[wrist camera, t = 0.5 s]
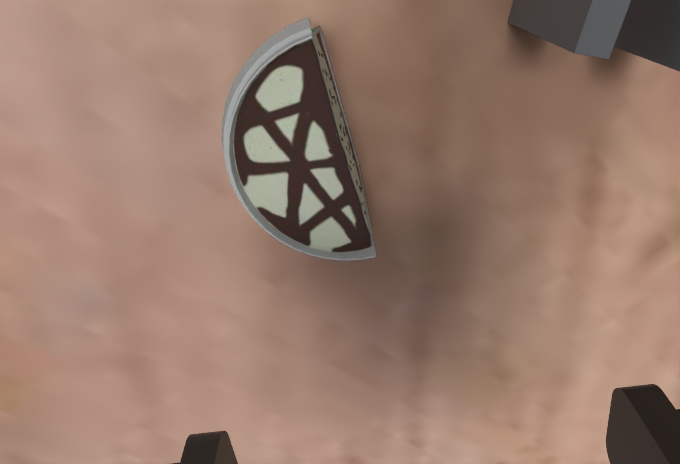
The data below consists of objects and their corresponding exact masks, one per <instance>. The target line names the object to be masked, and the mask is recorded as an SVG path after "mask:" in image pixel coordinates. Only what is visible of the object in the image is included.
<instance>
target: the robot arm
mask: <svg viewBox="0 0 680 464" xmlns="http://www.w3.org/2000/svg"><path fill="white" fill-rule="evenodd" d="M606 448H607V453H608V457H609V461H610V464H680V409H677V410H676V409H675V408H674V406H673V405H672V403H671V402H670V401H669V399H668V398H667V397H666V395H665V394H664V392H663V391H662V390H661V389H660V388H659V387H658V386H657V385H655V384H649V385H640V386H631V387H622V388H616V389H614V391H613V394H612V400H611V407H610V414H609V421H608V428H607V435H606ZM173 464H238V463H237V460H236V457H235V454H234V451H233V448H232V445H231V441H230V438H229V436H228V433H227V432H226V431H218V432H209V433H200V434H191V435H189V437H188V438H187V440H186V443H185V447H184V451H183V454H182V458H181V462H180V463H173Z"/></svg>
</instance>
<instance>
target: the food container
mask: <svg viewBox="0 0 680 464" xmlns="http://www.w3.org/2000/svg"><path fill="white" fill-rule="evenodd" d="M222 145H223V151H224V158H225V165H226V169H227V172H228V175H229V179H230V182H231V185H232V187H233V189H234V191H235V193H236V195H237V197H238V199H239V201H240V202H241V203H242V205H243V206H244V208H245V209H246V210H247V212H248V213H249V215H250V216H251V217H252V218H253V219H254V220H255V221H256V222H257V223H258V224H259V225H260V226H261V227H262V228H263V229H264V230H265V231H266V232H268V233H269V234H270V235H272V236H273V237H274V238H276V239H277V240H278V241H280V242H282V243H284V244H285V245H287V246H289V247H291V248H293V249H295V250H297V251H300V252H303V253H305V254H308V255H311V256H315V257H320V258H324V259H331V260H343V261H346V260H362V259H368V258H374V257H376V255H377V254H376V246H375V244H374V240H373V235H372V230H371V224H370V219H369V213H368V208H367V202H366V197H365V191H364V186H363V181H362V175H361V170H360V166H359V162H358V159H357V155H356V152H355V148H354V145H353V141H352V138H351V134H350V131H349V127H348V124H347V120H346V117H345V113H344V110H343V106H342V102H341V99H340V95H339V92H338V88H337V85H336V81H335V78H334V74H333V71H332V67H331V64H330V60H329V57H328V53H327V50H326V46H325V43H324V39H323V36H322V32H321V28H320V26H318V27H316V28H314V29H311V23H310V18H309V17H308V18H305V19H303V20H300V21H298V22H296V23H293V24H291V25H289V26H287V27H286V28H284V29H282V30H281V31H279V32H277V33H276V34H274V35H273V36H271V37H270V38H269V39H268V40H267V41H265V42H264V43H263V44H262V45H261V46H260V47H259V48H257V49H256V50H255V52H254V53H253V54H252V55H251V56H250V58H249V59H248V60H247V61H246V62H245V64H244V65H243V66H242V68H241V70H240V71H239V73H238V75H237V77H236V78H235V80H234V82H233V84H232V87H231V89H230V92H229V95H228V97H227V100H226V104H225V109H224V114H223V119H222Z"/></svg>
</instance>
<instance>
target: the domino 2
mask: <svg viewBox="0 0 680 464" xmlns="http://www.w3.org/2000/svg"><path fill="white" fill-rule="evenodd" d="M614 47H616V48H619V49H622V50H624V51H627V52H630V53H632V54H635V55H638V56H640V57H643V58H645V59H648V60H651V61H653V62H656V63H659V64H661V65H664V66H667V67H669V68H672V69H675V70H677V71H680V0H631V2H630V5H629V7H628V10H627V13H626V15H625V18H624V21H623V23H622V26H621V29H620V31H619V34H618V37H617V39H616V42H615V45H614Z"/></svg>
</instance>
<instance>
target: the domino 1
mask: <svg viewBox="0 0 680 464" xmlns="http://www.w3.org/2000/svg"><path fill="white" fill-rule="evenodd" d="M630 2H631V0H514V1H513V5H512V8H511V12H510V15H509V19H508V23H510V24H512V25H514V26H516V27H519V28H521V29H523V30H525V31H527V32H529V33H532V34H534V35H536V36H538V37H540V38H542V39H545V40H547V41H549V42H551V43H553V44H555V45H557V46H560V47H562V48H564V49H566V50H568V51H570V52H573V53H576V54H582V55H587V56H593V57H599V58H605V59H609V58H610V55H611V52H612V50H613V47H614V45H615V42H616V39H617V37H618V34H619V31H620V29H621V26H622V23H623V21H624V18H625V15H626V13H627V10H628V7H629V5H630Z"/></svg>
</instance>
